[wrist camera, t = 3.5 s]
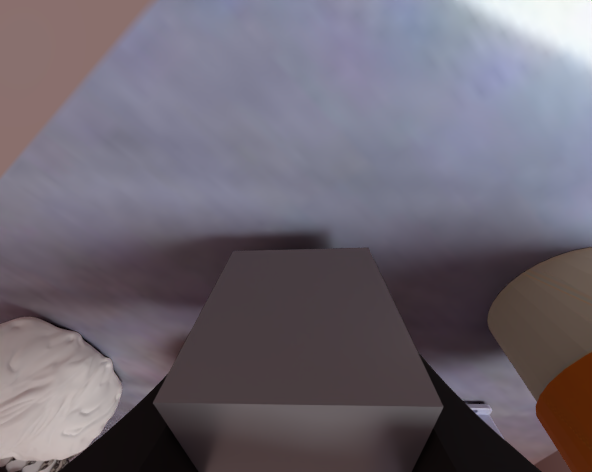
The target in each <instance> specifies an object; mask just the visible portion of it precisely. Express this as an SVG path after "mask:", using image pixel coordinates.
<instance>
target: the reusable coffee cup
mask: <svg viewBox="0 0 592 472" xmlns="http://www.w3.org/2000/svg"><path fill="white" fill-rule="evenodd" d="M487 322H488V327H489V330H490V331H491V333H492V335H493V336H494V338H495V339H496V341H497V342H498V344H499V345H500V347H501V348H502V350H503V351H504V353H505V354H506V356H507V357H508V359H509V360H510V362H511V363H512V365H513V366H514V368H515V369H516V371H517V372H518V374H519V375H520V377H521V378H522V380H523V381H524V383H525V385H526V386H527V388H528V389H529V391H530V392H531V394H532V395H533V397H534V398H535V400H536V401H537V404H536V416H537V418H538V419H539V421H540V422H541V424H542V425H543V427H544V429H545V430H546V432H547V433H548V435H549V437H550V438H551V440H552V441H553V443H554V444H555V446H556V448H557V449H558V451H559V452H560V454H561V455H562V457H563V459H564V460H565V462H566V463H567V465H568V467H569V468H570V470H571V471H572V472H592V247H590V248H584V249H579V250H574V251H570V252H567V253H564V254H561V255H558V256H555V257H552V258H550V259H548V260H546V261H544V262H541V263H539V264H537V265H535V266H534V267H532V268H530V269H528V270H527V271H525V272H523V273H522V274H520V275H519V276H518V277H517V278H515V279H514V280H513V281H511V282H510V283H509V284H508V285H507V286H506V287H505V288H504V289H503V290H502V291H501V292H500V293H499V294H498V296H497V297H496V299H495V300H494V301H493V303H492V305H491V308H490V310H489V312H488V320H487Z"/></svg>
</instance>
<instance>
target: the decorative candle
mask: <svg viewBox="0 0 592 472" xmlns="http://www.w3.org/2000/svg"><path fill="white" fill-rule="evenodd" d="M77 454H78V453H77ZM77 454H75V455H73V456H70V457H68V458H66V459H63V460H55V459H51V460H48V461H22V460H17V459H15V458H14V457H8V458H3V459H0V472H58V471H60V470H61V469H62V468H64V467H65V466H66V465H67V464H69V459H71V458H72V457H74V456H76V455H77Z"/></svg>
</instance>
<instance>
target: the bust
mask: <svg viewBox="0 0 592 472" xmlns="http://www.w3.org/2000/svg"><path fill="white" fill-rule="evenodd" d="M121 393H122V384H121V382H120V380H119V378H118V376H117V375H116V374H115V372H114V370H113V363H112V360H111V359H110V358H107V357H104V356H103V355H102V354H101V353H100V352H98V351H97V350H96V349H94V348H93V347H92V346H91V345H90V344H88V343H87V342H85V341H84V340H83V339H82V336H81V335H80V334H79V333H78V332H75V331H69V330H65V329H61V328H58V327H56V326H54V325H52V324H50V323H48V322H46V321H43V320H41V319H38V318H35V317H21V318H16V319H13V320H10V321H7V322H4V323H1V324H0V459H3V458H8V457H14V458H15V459H17V460H22V461H48V460H51V459H55V460H63V459H66V458H68V457H70V456H73V455H75V454H77V453H80V452H81V451H83V450H84V449H86V448H87V447H88V446H89V445H90V443H91V442H92V440H93V439H94V438H96V437H97V436H98V435H99V434H100V433H101V432H102V430H103V429H104V427H105V425H106V423H107V421H108V420H109V419H110V418H111V417H112V416H113V414H114V412H115V410H116V408H117V405H118V403H119V400H120V397H121Z"/></svg>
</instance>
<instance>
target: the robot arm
mask: <svg viewBox="0 0 592 472" xmlns="http://www.w3.org/2000/svg"><path fill="white" fill-rule="evenodd" d="M418 354H419V353H418ZM419 356H420V358H421V360H422V362H423V364H424V367H425V369H426V371H427V373H428V375H429V377H430V379H431V381H432V384H433V386H434V388H435V390H436V392H437V394H438V396H439V398H440V400H441V403H442V405H443V409H442V411H441V413H440V415H439V417H438V419H437V421H436V423H435V425H434V427H433V429H432V431H431V433H430V436H429V438H428V440H427V442H426V444H425V446H424V448H423V450H422V452H421V454H420V456H419V458H418V460H417V462H416V464H415V466H414V468H413V470H412V472H541V471H540V470H539V469H538V468H536V467H535V466H534V465H533V464H532V463H531V462H529V461H528V460H527V459H526V458H525V457H524V456H523V455H521V454H520V453H519V452H518V451H517V450H516V449H515V448H513V447H512V446H511V445H510V444H509V443H508V442H507V441H505V439H504V438H503V436H502V435H501V433H500V431H499V430H498V428H497V426H496V425H495V423H494V421H493V420H492V418H491V417H490V413H491V412H492V409H491V408H490V406H489V405H487V404H465V403H464V402H463V401H462V400H461V399H460V398H459V397H458V396H457V395H456V394H455V393H454V392H453V390H452V389H451V388H450V387H449V386H448V385H447V384H446V383H445V382H444V381H443V380H442V379H441V378H440V377H439V376H438V374H437V373H436V372H435V371H434V370H433V369H432V368H431V367H430V366H429V364H428V363H427V362H426V361H425V360H424V359H423V357H422V356H421V355H420V354H419ZM167 375H168V374H167ZM167 375H166V376H165V377H164V379H163V380H162V381H161V382H160V383H159V384H158V385H157V386H156V387H155V388H154V389H153V390H152V391H151V392H150V393H149V394H148V395H147V396H146V397H145V398H144V399H143V400H142V401H141V402H139V403H138V404H137V405H136V406H135V407H134V408H133V409H132V410H131V411H130V412H129V413H128V414H126V415H125V416H124V417H123V418H122V419H121V420H120V421H119V422H118V423H117V424H115V425H114V426H113V427H112V428H111V429H110V430H109V431H107V432H106V433H105V434H104V435H103V436H102V437H100V438H99V439H98V440H97V441H95V442H94V443H93V444H92V445H91V446H89V447H88V448H87V449H86V450H85V451H83V452H82V453H81V454H80V455H78V456H77V457H76V458H75V459H74V460H72V461H71V462H70V463H69V464H67V465H66V466H65V467H64V468H62V469H61V470H60V471H58V472H198V470H197V469H196V467H195V466H194V464H193V463H192V461H191V460H190V458H189V457H188V455H187V454H186V452H185V451H184V449H183V448H182V446H181V445H180V443H179V441H178V440H177V438H176V437H175V435H174V434H173V432H172V431H171V429H170V428H169V426H168V425H167V423H166V422H165V420H164V419H163V417H162V416H161V414H160V413H159V411H158V410H157V408H156V407H155V405H154V404H153V402H154V400H155V398H156V396H157V394H158V392H159V390H160V388H161V386H162V385H163V383H164V381H165V379H166V377H167Z"/></svg>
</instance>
